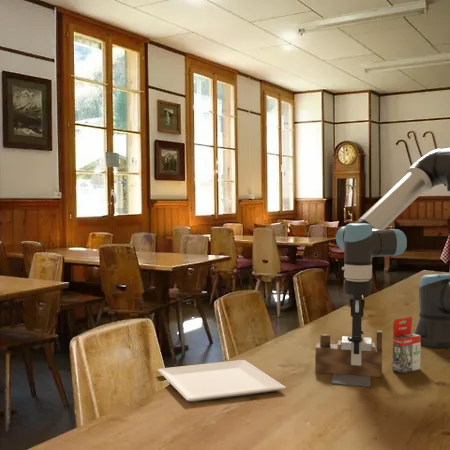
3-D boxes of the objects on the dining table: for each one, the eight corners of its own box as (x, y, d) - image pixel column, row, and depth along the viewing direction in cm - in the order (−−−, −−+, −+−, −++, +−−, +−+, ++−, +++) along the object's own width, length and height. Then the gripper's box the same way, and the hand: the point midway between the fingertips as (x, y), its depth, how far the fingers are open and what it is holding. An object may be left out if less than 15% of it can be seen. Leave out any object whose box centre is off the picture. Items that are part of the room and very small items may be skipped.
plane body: (381, 371, 173) (382, 329, 172) (381, 377, 168) (382, 333, 167) (316, 367, 176) (317, 325, 176) (315, 372, 172) (315, 329, 171)
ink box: (420, 369, 175) (422, 318, 174) (401, 374, 171) (403, 321, 170) (410, 366, 178) (411, 316, 177) (391, 370, 174) (392, 319, 173)
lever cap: (371, 344, 174) (371, 335, 174) (371, 351, 167) (371, 341, 167) (342, 343, 176) (342, 334, 175) (341, 349, 169) (341, 340, 169)
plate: (186, 407, 144) (186, 399, 144) (156, 375, 168) (157, 368, 168) (286, 394, 154) (286, 386, 154) (244, 366, 178) (244, 359, 178)
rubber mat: (370, 377, 167) (370, 376, 167) (370, 387, 159) (370, 385, 159) (333, 375, 169) (333, 373, 169) (331, 384, 161) (331, 382, 161)
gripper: (344, 273, 181) (343, 350, 182) (342, 284, 161) (341, 370, 163) (371, 274, 179) (369, 352, 180) (372, 285, 160) (370, 372, 161)
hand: (356, 360), depth 171 cm, fingers closed on lever cap, 7 cm apart
